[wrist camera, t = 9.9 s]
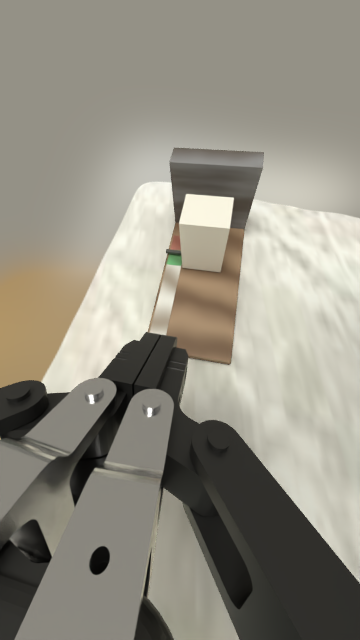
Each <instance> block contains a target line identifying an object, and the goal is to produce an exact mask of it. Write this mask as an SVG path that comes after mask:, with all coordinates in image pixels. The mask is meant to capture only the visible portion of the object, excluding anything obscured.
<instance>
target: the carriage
mask: <svg viewBox="0 0 360 640" xmlns="http://www.w3.org/2000/svg"><path fill="white" fill-rule="evenodd" d="M233 201H234V198H232V197H219V196H207V195H194V194H186V197H185V201H184V205H183V209H182V213H181V217H180V221H179V231H180V243H181V251H179V250H170V249H167V250H166V253H169V254H177V255H181V256H182V268H189V269H197V270H205V271H213V272H221V267H222V262H223V258H224V253H225V249H226V244H227V239H228V235H229V230H230V224H231V216H232V208H233Z"/></svg>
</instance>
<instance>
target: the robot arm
mask: <svg viewBox="0 0 360 640" xmlns="http://www.w3.org/2000/svg"><path fill="white" fill-rule="evenodd" d="M188 357H189V356H188V354H187V351H186V349H182V348H177V337H173V336H167V335H161V334H155V333H150V332H146V333H145V334H144V336H143V337H142V338H141V340H140V341H136V340H133V341H131V342H130V343H128V344H126V345H125V346H124V347H123V348H122V349H121V351H120V353H118V354H117V355H116V357H115V358H114V359H113V360H112V362H111V363H110V364H109V365H108V366H107V368H106V369H105V370H104V371H103V373H102V374H101V375H100V376H99V377H98V378H94V379H89V380H86V381H84V382H82V383H80V384H79V385H78V386H76V387H75V388H74V389H73V390H72V391H71V392H68V393H50V394H47V392H46V388H45V385H44V384H43V383H41V382H39V381H34V380H33V381H32V380H29V381H22V382H18V383H15V384H12V385H8V386H6V387H2V388H0V438H1V440H0V640H174V639H173V636H172V634H171V632H170V630H169V628H168V626H167V625H166V623H165V621H164V620H163V618H162V616H161V615H160V613H159V612H158V610H157V609H156V608H155V607H154V605H153V604H152V603H151V602H150V600H149V599H148V595H149V588H150V581H151V574H152V568H153V561H154V553H155V546H156V538H157V531H158V524H159V518H160V511H161V504H162V498H163V491H164V488H165V489H166V490H168V491H169V492H170V493H171V494H173V495H174V496H175V497H177V498H178V499H179V500H181V501H182V502H183V506H184V509H185V512H186V514H187V517H188V519H189V521H190V524H191V526H192V528H193V531H194V533H195V535H196V538H197V540H198V543H199V545H200V547H201V550H202V552H203V554H204V557H205V559H206V561H207V564H208V566H209V568H210V571H211V573H212V576H213V578H214V580H215V583H216V585H217V587H218V590H219V592H220V594H221V597H222V599H223V601H224V604H225V606H226V609H227V611H228V613H229V616H230V618H231V620H232V623H233V625H234V627H235V630H236V632H237V634H238V637H239V639H240V640H360V583H359V582H358V581H357V580H356V578H355V577H354V576H353V575H352V573H351V572H350V571H349V570H348V569H347V567H346V566H345V565H344V564H343V562H342V561H341V560H340V559H339V557H338V556H337V555H336V554H335V553H334V551H333V550H332V549H331V548H330V546H329V545H328V544H327V543H326V541H325V540H324V539H323V538H322V537H321V535H320V534H319V533H318V532H317V530H316V529H315V528H314V527H313V525H312V524H311V523H310V522H309V521H308V519H307V518H306V517H305V516H304V514H303V513H302V512H301V511H300V509H299V508H298V507H297V506H296V505H295V503H294V502H293V501H292V500H291V498H290V497H289V496H288V495H287V493H286V492H285V491H284V490H283V488H282V487H281V486H280V485H279V484H278V482H277V481H276V480H275V479H274V477H273V476H272V475H271V474H270V472H269V471H268V470H267V469H266V468H265V466H264V465H263V464H262V463H261V461H260V460H259V459H258V458H257V456H256V455H255V454H254V453H253V452H252V450H251V449H250V448H249V447H248V445H247V444H246V443H245V442H244V440H243V439H242V438H241V437H240V436H239V434H238V433H237V432H236V431H235V430H234V429H233V428H232V427H231V426H229V425H227V424H226V423H223V422H221V421H216V420H208V421H204V422H202V423H200V424H199V423H197V422H195V421H193V420H191V419H190V418H188V417H187V416H186V415H185V414H184V413H183V412H182V410H181V409H180V403H181V398H182V394H183V389H184V385H185V380H186V372H187V365H188Z"/></svg>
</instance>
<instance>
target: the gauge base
mask: <svg viewBox="0 0 360 640" xmlns="http://www.w3.org/2000/svg"><path fill="white" fill-rule="evenodd" d="M263 158H264V153H263V152H246V151H245V152H244V151H227V150H208V149H189V148H174V149H173V153H172V156H171V159H170V172H171V182H172V192H173V202H174V212H175V222H176V223H175V227H174V231H173V234H172V238H171V242H170V246H169V249H170V250H179V251H181V243H180V231H179V221H180V217H181V213H182V209H183V205H184V201H185V197H186V194H194V195H207V196H219V197H232V198H234V201H233V208H232V216H231V224H230V230H229V235H228V239H227V244H226V249H225V253H224V258H223V262H222V267H221V272H213V271H205V270H197V269H189V268H182V256H181V255H177V254H169V253H168V254H167V258H166V262H165V266H164V270H163V274H162V278H161V282H160V286H159V290H158V294H157V298H156V302H155V306H154V309H153V313H152V317H151V321H150V325H149V329H148V332H150V333H155V334H161V335H167V336H173V337H177V348H182V349H186V351H187V354H188V356H189V358H194V359H200V360H206V361H211V362H217V363H223V364H228V365H229V364H230V363H231V355H232V346H233V336H234V326H235V316H236V306H237V296H238V286H239V276H240V266H241V256H242V246H243V237H244V228H245V225H246V222H247V218H248V215H249V212H250V209H251V205H252V202H253V199H254V195H255V192H256V189H257V185H258V182H259V179H260V175H261V172H262V169H263Z"/></svg>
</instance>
